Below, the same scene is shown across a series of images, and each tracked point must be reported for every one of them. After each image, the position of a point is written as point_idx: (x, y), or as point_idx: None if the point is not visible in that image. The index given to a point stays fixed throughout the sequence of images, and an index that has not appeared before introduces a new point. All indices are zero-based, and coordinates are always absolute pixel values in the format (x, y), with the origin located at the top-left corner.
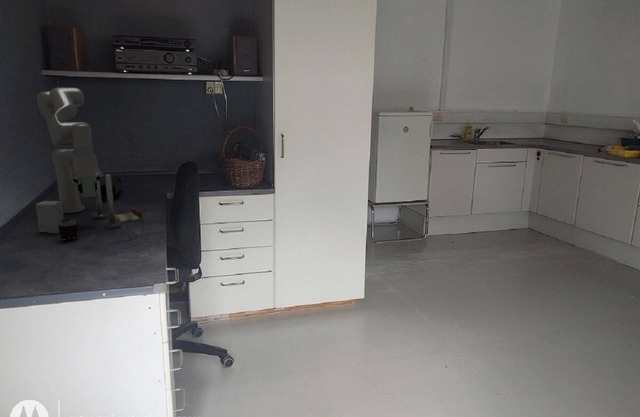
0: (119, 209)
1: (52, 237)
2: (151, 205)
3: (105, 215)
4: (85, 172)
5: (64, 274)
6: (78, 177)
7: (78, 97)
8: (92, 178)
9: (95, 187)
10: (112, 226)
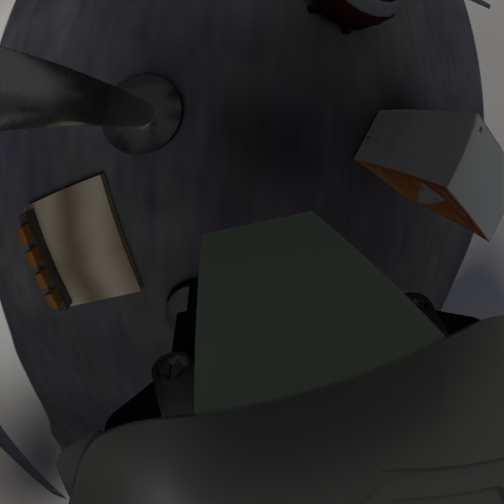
0: (138, 381)
1: (393, 68)
2: (51, 381)
3: (174, 293)
4: (446, 464)
5: None
6: (497, 318)
7: None
8: (225, 380)
9: (192, 303)
10: (145, 75)
